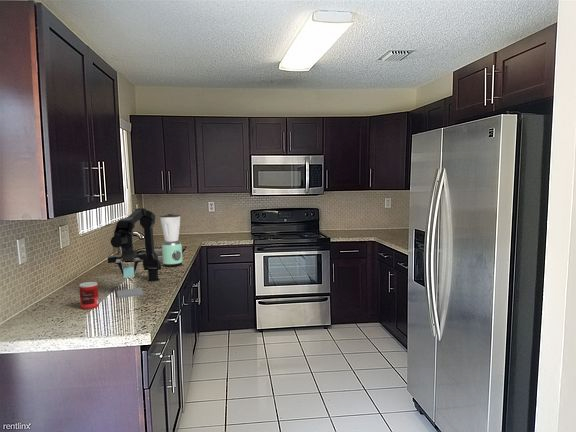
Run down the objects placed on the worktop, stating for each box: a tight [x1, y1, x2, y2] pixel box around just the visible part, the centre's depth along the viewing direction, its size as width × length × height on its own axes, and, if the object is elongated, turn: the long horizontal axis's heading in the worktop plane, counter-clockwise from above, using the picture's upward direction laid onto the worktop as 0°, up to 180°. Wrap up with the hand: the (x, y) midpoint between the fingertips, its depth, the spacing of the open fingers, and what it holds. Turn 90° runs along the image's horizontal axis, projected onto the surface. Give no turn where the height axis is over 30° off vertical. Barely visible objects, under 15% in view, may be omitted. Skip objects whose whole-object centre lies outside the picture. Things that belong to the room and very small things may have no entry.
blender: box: [159, 213, 184, 268], centre depth 277 cm, size 19×13×35 cm
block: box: [122, 264, 135, 279], centre depth 209 cm, size 5×5×5 cm
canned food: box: [78, 281, 100, 310], centre depth 188 cm, size 8×8×11 cm
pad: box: [116, 287, 144, 299], centre depth 210 cm, size 12×12×1 cm
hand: (128, 274), depth 209 cm, fingers closed on block, 5 cm apart
